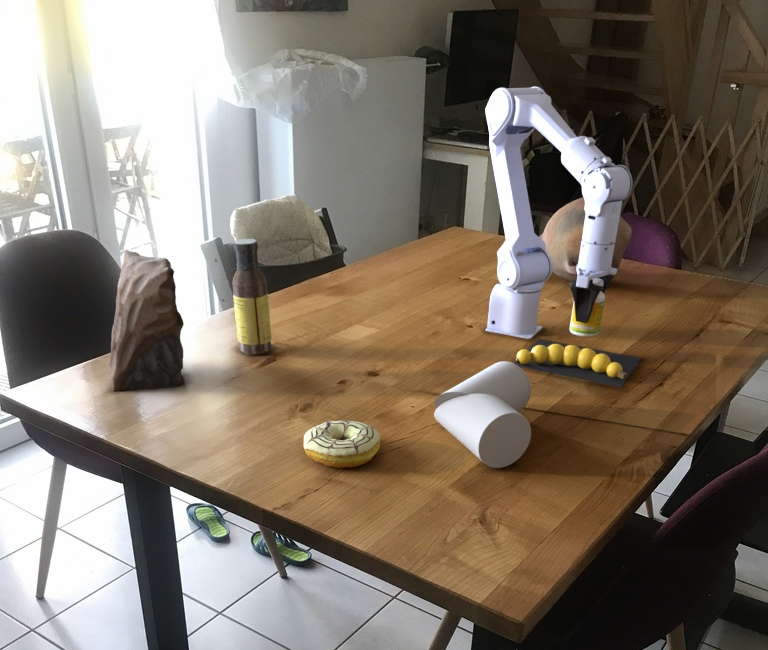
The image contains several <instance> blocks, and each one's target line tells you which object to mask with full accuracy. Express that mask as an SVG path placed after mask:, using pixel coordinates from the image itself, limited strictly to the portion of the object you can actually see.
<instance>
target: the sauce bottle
mask: <svg viewBox="0 0 768 650" xmlns="http://www.w3.org/2000/svg"><path fill="white" fill-rule="evenodd" d="M233 247H234V251H235V256H236V271H235V273H234V275H233V277H232V295H233V307H234V317H235V326H236V334H237V341H238V349H239V351H240V352H242V353H243V354H245V355H250V356H254V355H255V356H256V355H263V354H266V353H268V352H269V351H271V349H272V328H271V327H272V326H271V315H270V314H271V313H270V303H269V301H270V300H269V292H268V286H267V285H268V283H267V278H266V276H265V274H264V273H263V271H262V270H261V269H260V263H259V256H258V250H259V245H258V241H257V240H256V239H254V238H239V239H236V240H234V242H233Z"/></svg>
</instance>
